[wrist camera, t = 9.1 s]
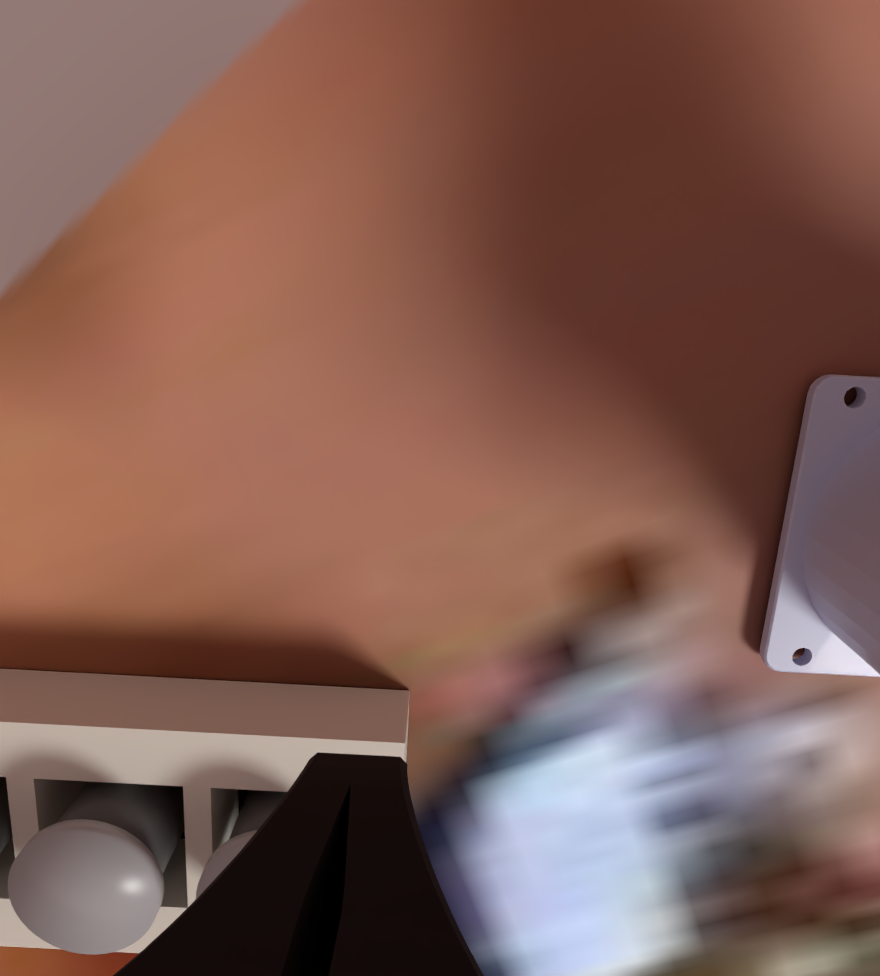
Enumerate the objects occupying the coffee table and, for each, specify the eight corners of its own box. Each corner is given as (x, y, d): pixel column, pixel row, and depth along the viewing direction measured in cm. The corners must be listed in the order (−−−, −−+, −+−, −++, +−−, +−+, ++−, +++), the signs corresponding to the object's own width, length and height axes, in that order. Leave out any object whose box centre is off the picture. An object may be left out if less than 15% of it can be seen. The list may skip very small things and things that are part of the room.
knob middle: (203, 743, 21) (155, 835, 17) (207, 850, 22) (161, 958, 18) (75, 736, 21) (0, 827, 17) (84, 844, 22) (15, 950, 18)
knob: (363, 752, 21) (347, 845, 17) (360, 858, 22) (343, 967, 18) (235, 745, 21) (193, 837, 17) (237, 852, 22) (198, 959, 18)
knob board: (409, 690, 21) (405, 743, 18) (399, 893, 23) (394, 965, 20) (-124, 662, 21) (-199, 711, 18) (-91, 868, 23) (-156, 938, 20)
